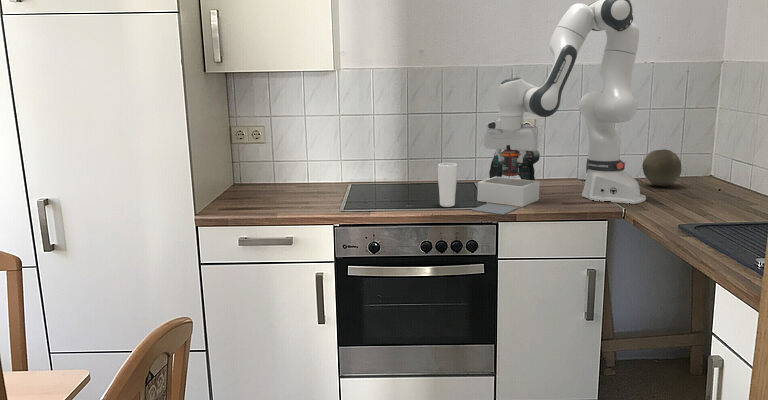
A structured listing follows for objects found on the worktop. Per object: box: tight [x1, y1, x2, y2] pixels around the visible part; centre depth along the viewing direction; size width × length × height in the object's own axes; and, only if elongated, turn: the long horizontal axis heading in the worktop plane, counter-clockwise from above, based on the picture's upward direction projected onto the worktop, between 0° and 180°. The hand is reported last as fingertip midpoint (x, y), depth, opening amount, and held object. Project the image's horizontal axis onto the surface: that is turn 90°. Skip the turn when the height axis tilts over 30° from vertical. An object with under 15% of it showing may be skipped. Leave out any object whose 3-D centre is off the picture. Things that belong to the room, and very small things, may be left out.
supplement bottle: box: [501, 145, 520, 177], centre depth 225 cm, size 6×6×11 cm
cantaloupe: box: [642, 149, 683, 187], centre depth 248 cm, size 14×14×15 cm
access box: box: [476, 176, 541, 208], centre depth 228 cm, size 18×14×7 cm
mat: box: [471, 202, 520, 216], centre depth 214 cm, size 12×12×1 cm
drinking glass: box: [437, 162, 458, 208], centre depth 220 cm, size 7×7×15 cm
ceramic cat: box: [488, 149, 541, 181], centre depth 247 cm, size 20×6×20 cm, turn 54°
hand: (510, 161), depth 225 cm, fingers closed on supplement bottle, 6 cm apart
